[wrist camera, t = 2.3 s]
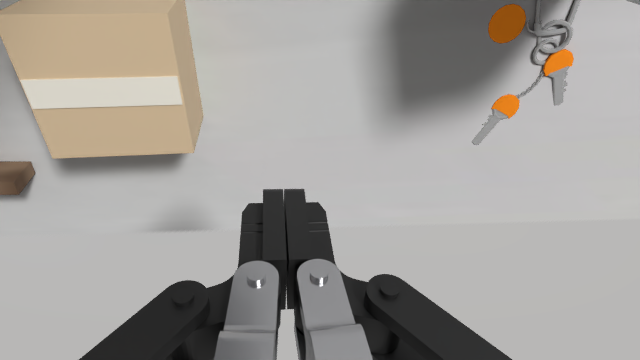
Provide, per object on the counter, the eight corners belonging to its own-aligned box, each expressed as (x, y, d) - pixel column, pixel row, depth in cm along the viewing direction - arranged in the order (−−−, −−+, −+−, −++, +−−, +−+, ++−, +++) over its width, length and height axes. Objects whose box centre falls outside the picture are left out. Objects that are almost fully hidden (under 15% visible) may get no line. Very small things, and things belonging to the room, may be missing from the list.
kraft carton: (183, -9, 24) (167, 13, 20) (203, 114, 29) (193, 153, 25) (38, -9, 23) (-10, 15, 19) (83, 118, 28) (51, 159, 24)
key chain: (488, -34, 25) (495, -31, 25) (604, -46, 26) (613, -45, 25) (463, 144, 33) (467, 150, 32) (552, 133, 33) (558, 138, 33)
